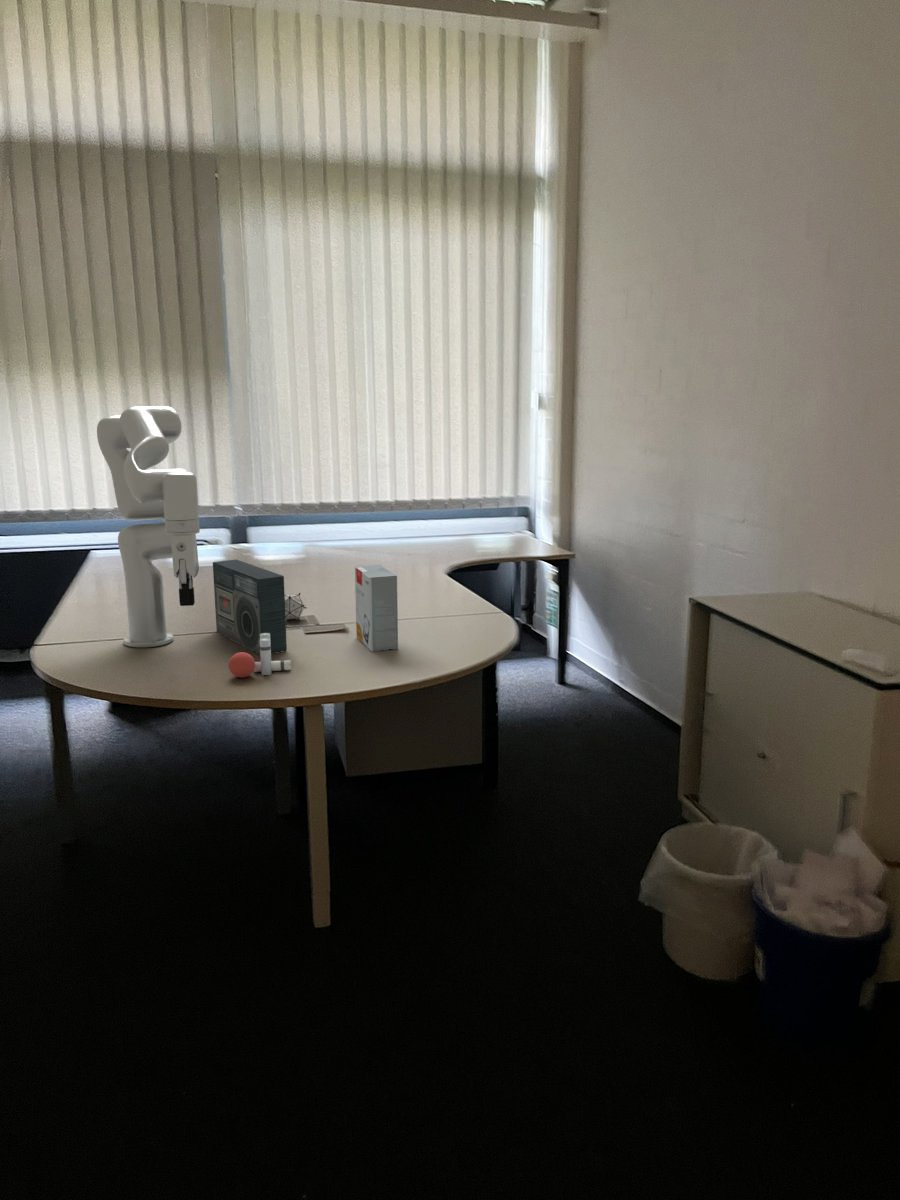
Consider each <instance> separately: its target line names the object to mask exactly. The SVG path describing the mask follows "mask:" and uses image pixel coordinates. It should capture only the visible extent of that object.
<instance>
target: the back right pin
mask: <svg viewBox="0 0 900 1200" xmlns="http://www.w3.org/2000/svg"><path fill="white" fill-rule="evenodd" d="M259 655H260V662H261V673H260V674H261V676H264V675H269V676H271V675H272V674H273V673H272V672H273V671H271V661H272V654H271V645H270V639H268V638H264V639H260V654H259Z"/></svg>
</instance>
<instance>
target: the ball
mask: <svg viewBox="0 0 900 1200" xmlns="http://www.w3.org/2000/svg"><path fill="white" fill-rule="evenodd" d="M255 662H256V661H255V659H254V657H253V655H252V654H249V653H248V652H244V651H243V652H242V651H240V652H236V653H235V654H233V655H232V656H231V657H230V659H229V662H228V669H229V672H230V673H231V674H232V675H233V676H234V677H237V678H240V679H243V678H248V677H249V676H251V675H252V674H253V672H255V670H254V669H255Z"/></svg>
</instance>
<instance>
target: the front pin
mask: <svg viewBox="0 0 900 1200" xmlns="http://www.w3.org/2000/svg"><path fill="white" fill-rule="evenodd" d="M291 665H292V662H291V659H285V660H284V659H280V660H271V671H272V672H280V671H281V672H284V670H285V671H292V666H291ZM254 672H255V673H260V672H261V661H255V669H254Z"/></svg>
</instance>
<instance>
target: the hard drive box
mask: <svg viewBox="0 0 900 1200" xmlns="http://www.w3.org/2000/svg"><path fill="white" fill-rule="evenodd" d="M354 582H355V583H354V586H355V588H354V590H355V591H354V592H355V593H354V594H355V625H356V626H355V627H356V629H355V631H356V637H357V638H358V640H359V641H360V642H361V643H362V644H363V645H364V646H365V647H366V648H367V649H368V648H369V649H368V650H369V651H370V650H371V651H375V652H381V651H380V650H384V651H390V650H389V649H393V650H398V649H399V632H398V631H399V628H398V627H399V626H398V625H399V624H398V623H399V622H398V619H399V617H398V616H399V615H398V576H397V574H395V573H394V572H392V571H390V570H389V569H388V568H386V567H384V566H382V565H381V564H371V565H357V566H354ZM371 651H370V652H371Z"/></svg>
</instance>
